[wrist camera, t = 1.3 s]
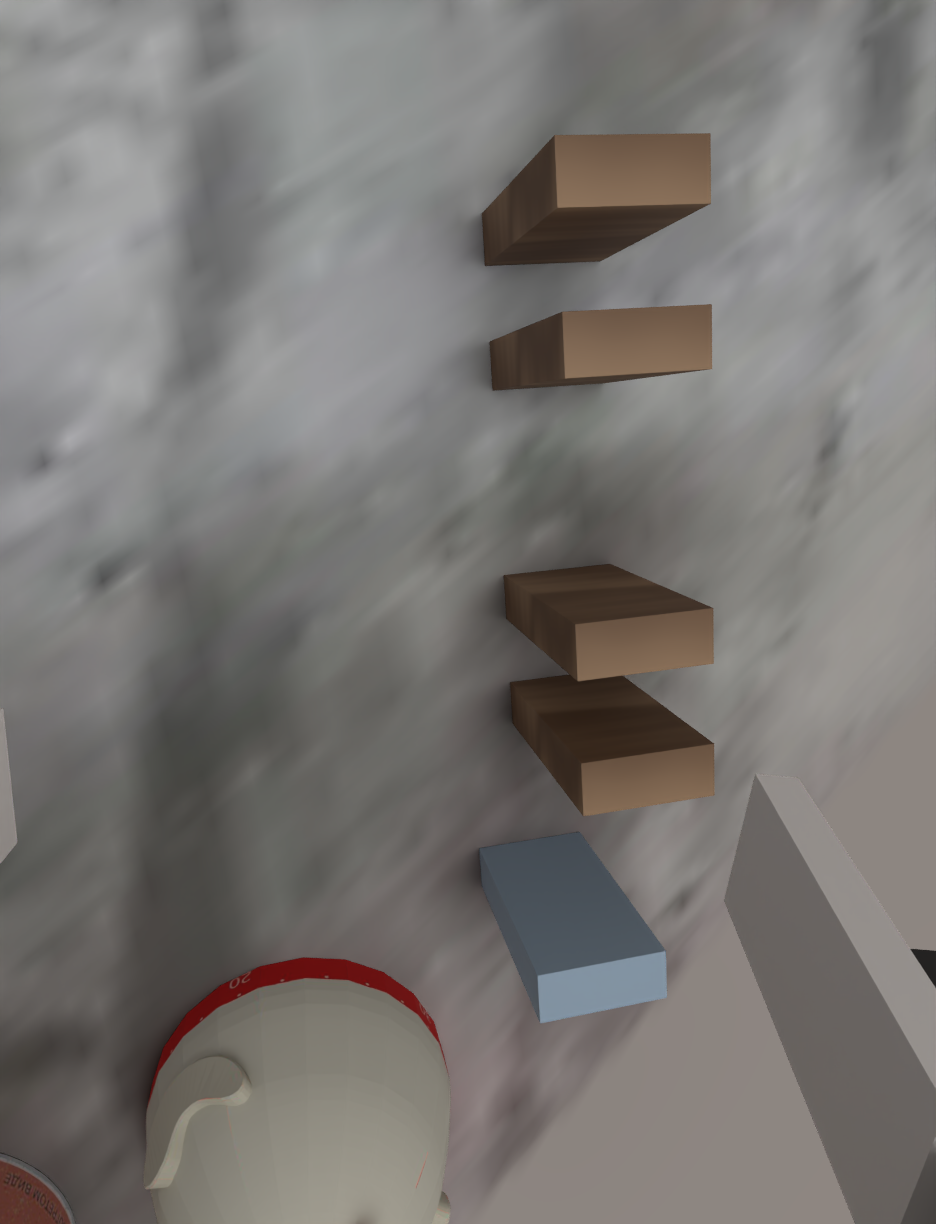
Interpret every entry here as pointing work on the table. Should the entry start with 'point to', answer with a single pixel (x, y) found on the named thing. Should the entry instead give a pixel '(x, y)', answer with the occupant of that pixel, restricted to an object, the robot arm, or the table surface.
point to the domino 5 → (570, 928)
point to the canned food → (30, 1196)
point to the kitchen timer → (301, 1103)
